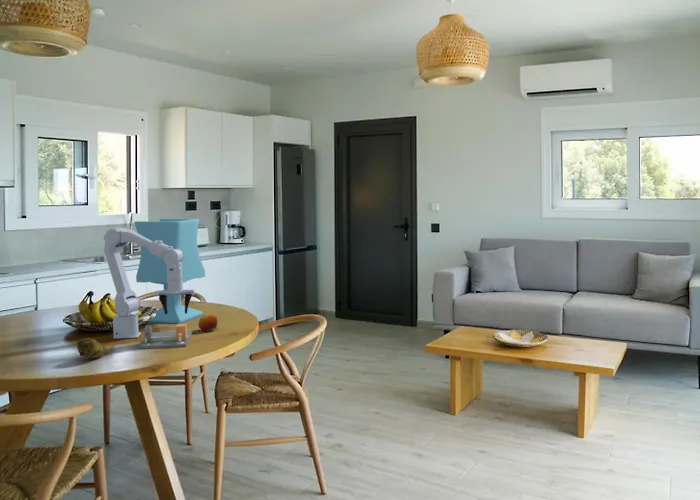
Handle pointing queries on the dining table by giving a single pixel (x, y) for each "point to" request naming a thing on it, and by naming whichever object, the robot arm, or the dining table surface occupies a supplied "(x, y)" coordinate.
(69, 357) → the dining table surface
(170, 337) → the board
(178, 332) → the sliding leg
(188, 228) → the lamp with square shade
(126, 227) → the robot arm
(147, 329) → the fixed leg
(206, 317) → the fruit
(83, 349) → the potato
